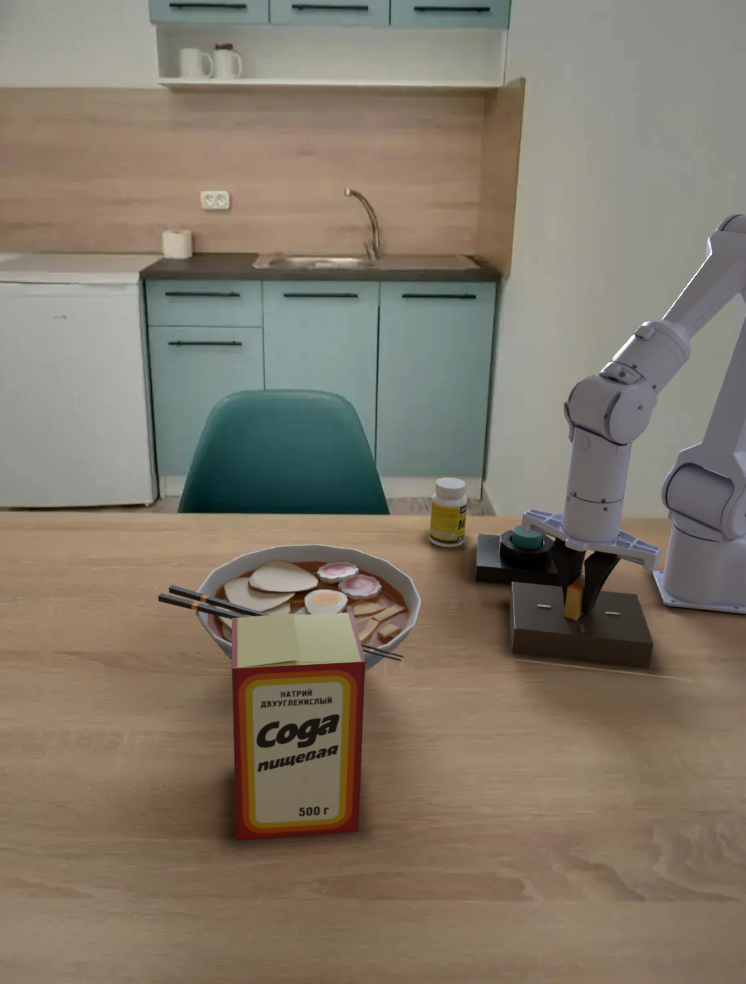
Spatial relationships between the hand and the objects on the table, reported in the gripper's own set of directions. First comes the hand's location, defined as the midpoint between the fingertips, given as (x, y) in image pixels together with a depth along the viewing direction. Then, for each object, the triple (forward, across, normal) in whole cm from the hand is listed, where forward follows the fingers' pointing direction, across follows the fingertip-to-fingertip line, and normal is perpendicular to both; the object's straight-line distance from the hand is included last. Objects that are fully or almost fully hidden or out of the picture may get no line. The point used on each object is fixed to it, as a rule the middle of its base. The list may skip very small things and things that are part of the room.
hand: (578, 606), depth 90 cm
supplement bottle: (+4, -23, +10) cm, 25 cm away
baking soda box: (+4, -7, -38) cm, 39 cm away
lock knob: (0, 0, 0) cm, 0 cm away
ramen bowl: (+4, -20, -22) cm, 30 cm away
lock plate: (+3, 0, 0) cm, 3 cm away
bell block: (+3, -11, +10) cm, 15 cm away
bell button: (0, -11, +10) cm, 15 cm away
